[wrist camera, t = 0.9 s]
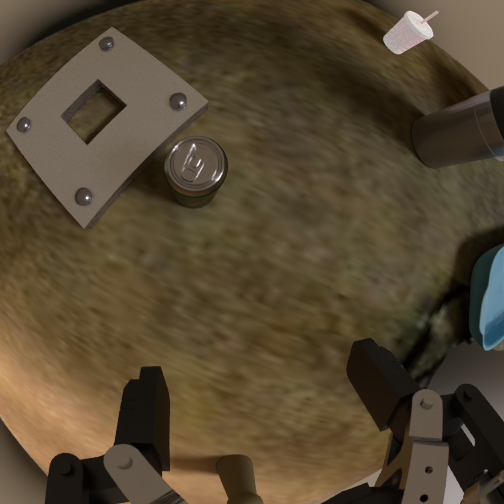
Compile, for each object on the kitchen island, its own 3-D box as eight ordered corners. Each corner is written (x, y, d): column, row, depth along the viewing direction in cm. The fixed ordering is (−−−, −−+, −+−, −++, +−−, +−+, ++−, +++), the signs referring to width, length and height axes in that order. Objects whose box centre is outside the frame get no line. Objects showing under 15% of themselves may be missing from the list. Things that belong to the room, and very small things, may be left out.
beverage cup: (409, 60, 37) (456, 30, 23) (386, 54, 36) (434, 19, 22) (398, 36, 36) (440, 5, 23) (375, 29, 35) (417, -7, 22)
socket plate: (115, 36, 27) (111, 24, 24) (207, 110, 31) (209, 99, 28) (14, 135, 25) (3, 129, 22) (91, 228, 29) (82, 228, 26)
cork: (231, 479, 36) (244, 526, 25) (208, 465, 34) (216, 515, 24) (259, 464, 36) (277, 510, 26) (237, 449, 35) (251, 499, 24)
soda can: (224, 179, 32) (241, 151, 20) (202, 216, 32) (208, 208, 20) (186, 158, 31) (185, 120, 19) (165, 196, 31) (149, 176, 19)
